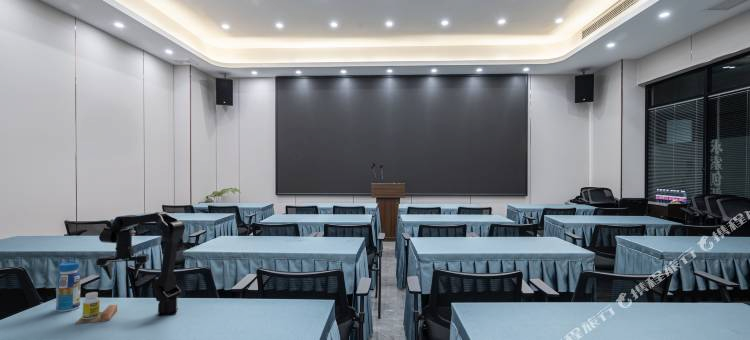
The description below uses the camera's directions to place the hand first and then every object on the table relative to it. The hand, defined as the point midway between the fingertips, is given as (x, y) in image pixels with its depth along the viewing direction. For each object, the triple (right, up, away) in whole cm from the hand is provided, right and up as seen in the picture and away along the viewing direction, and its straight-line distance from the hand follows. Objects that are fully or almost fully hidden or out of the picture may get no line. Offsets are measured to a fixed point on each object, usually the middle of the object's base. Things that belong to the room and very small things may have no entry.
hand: (123, 278), depth 161 cm
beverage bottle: (-23, -13, -2) cm, 26 cm away
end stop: (-3, -13, -11) cm, 17 cm away
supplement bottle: (-5, -13, -11) cm, 18 cm away
